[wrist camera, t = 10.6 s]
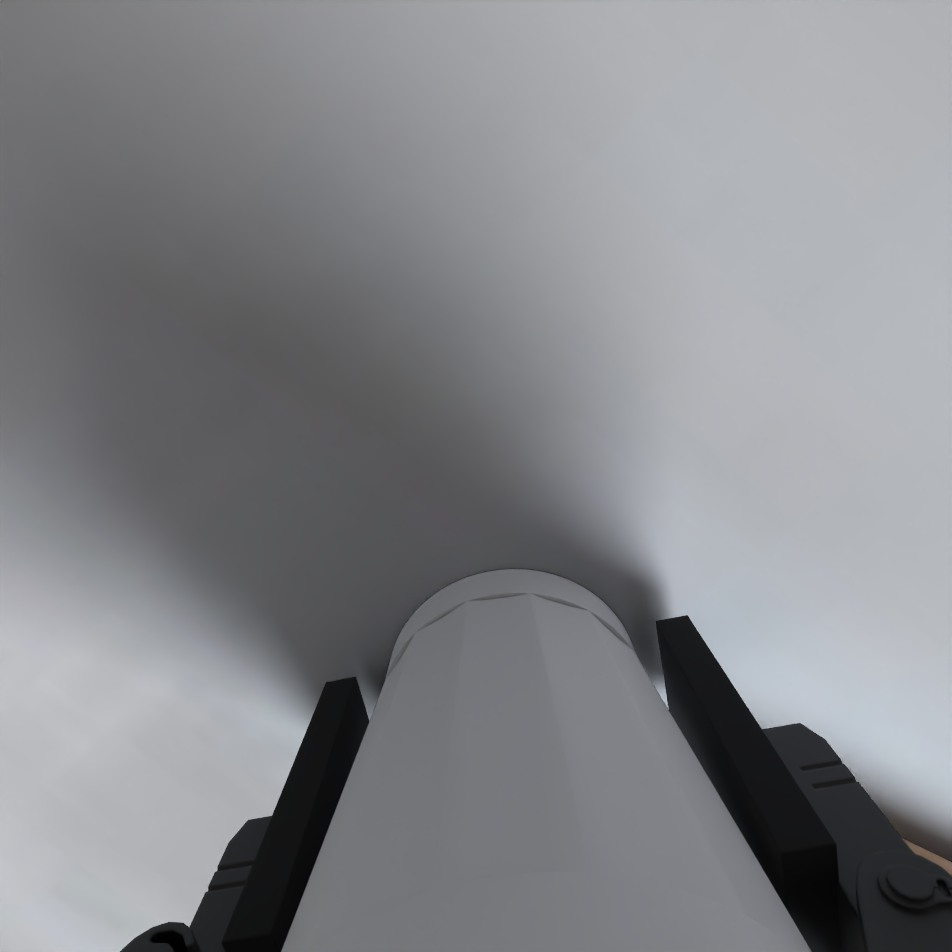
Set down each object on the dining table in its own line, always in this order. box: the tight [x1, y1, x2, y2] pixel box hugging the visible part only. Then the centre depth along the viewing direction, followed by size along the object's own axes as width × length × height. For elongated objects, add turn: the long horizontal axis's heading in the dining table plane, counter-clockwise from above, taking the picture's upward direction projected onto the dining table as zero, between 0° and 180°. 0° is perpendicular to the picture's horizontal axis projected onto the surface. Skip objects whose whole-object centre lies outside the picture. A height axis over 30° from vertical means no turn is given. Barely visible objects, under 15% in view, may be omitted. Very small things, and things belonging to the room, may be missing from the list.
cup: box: [281, 569, 811, 952], centre depth 10 cm, size 8×8×12 cm
